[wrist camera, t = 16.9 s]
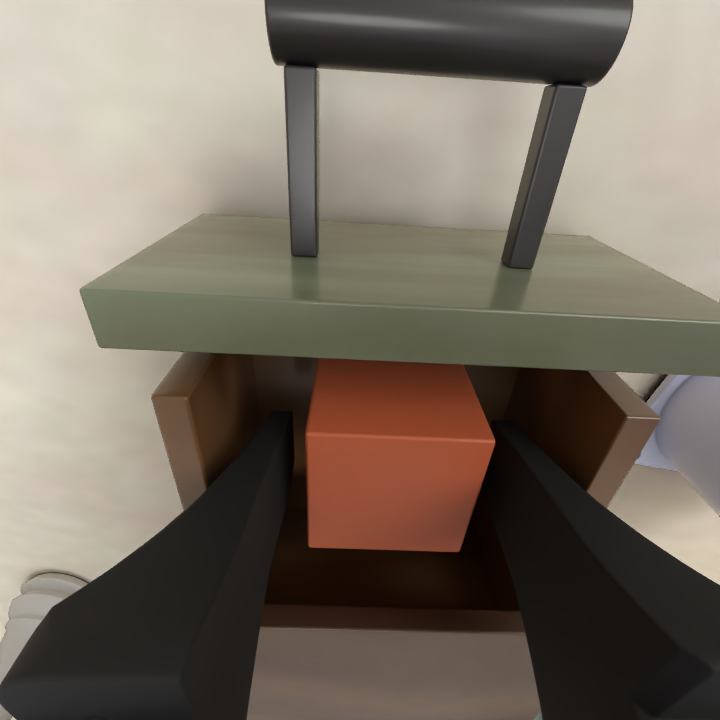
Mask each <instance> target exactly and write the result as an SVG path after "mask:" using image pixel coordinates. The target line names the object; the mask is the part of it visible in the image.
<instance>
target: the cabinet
mask: <svg viewBox="0 0 720 720" xmlns="http://www.w3.org/2000/svg"><path fill="white" fill-rule="evenodd" d="M540 711H541V707H540V702H539V697H538V692H537V686H536V681H535V676H534V671H533V666H532V661H531V656H530V652H529V647H528V643H527V638H526V634H525V629H524V625H523V620H522V616H521V612H520V611H516V610H479V609H442V608H406V607H369V606H333V605H296V604H264V607H263V613H262V619H261V625H260V632H259V638H258V644H257V651H256V658H255V664H254V671H253V678H252V685H251V691H250V698H249V706H248V713H247V720H534V719H535V717H536V716H537V715H538V714H539V713H540Z"/></svg>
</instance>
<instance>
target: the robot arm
mask: <svg viewBox="0 0 720 720" xmlns="http://www.w3.org/2000/svg"><path fill="white" fill-rule="evenodd" d="M646 404H647V405H648V406H649V407H650V408H651V409H652V410H653V411H654V412H655V413H656V414H657V415H658V416H659V417H660V418H661V420H660V422H659V423H658V425H657V426H656V428H655V430H654V431H653V433H652V435H651V436H650V438H649V440H648V441H647V443H646V444H645V446H644V448H643V449H642V451H641V453H640V454H639V456H638V458H637V459H636V461H635V462H634V464H639V465H644V466H650V467H655V468H661V469H666V470H672V471H677V472H680V474H681V475H682V476H683V477H684V478H685V479H686V480H687V481H688V482H689V483H690V485H691V486H692V487H693V488H694V489H695V490H696V491H697V492H698V493H699V495H700V496H701V497H702V498H703V499H704V500H705V501H706V502H707V503H708V505H709V506H710V507H711V508H712V509H713V510H714V511H715V512H716V513H717V514H718V516H719V517H720V377H714V376H693V375H672V374H668V375H667V377H666V378H665V379H664V381H663V382H662V383H661V384H660V386H659V387H658V388H657V389H656V391H655V392H654V393H653V394H652V396H651V397H650V398H649V399H648V401H647V402H646ZM490 429H491V431H492V434H493V436H494V438H495V446H494V449H493V452H492V455H491V458H490V461H489V464H488V467H487V470H486V473H485V476H484V479H483V482H482V490H483V494H484V498H485V501H486V504H487V507H488V510H489V513H490V516H491V519H492V522H493V525H494V528H495V531H496V533H497V536H498V539H499V542H500V545H501V548H502V550H503V553H504V556H505V559H506V562H507V565H508V568H509V571H510V574H511V577H512V581H513V584H514V588H515V592H516V596H517V600H518V604H519V608H520V612H521V616H522V620H523V625H524V629H525V634H526V638H527V643H528V647H529V652H530V656H531V661H532V666H533V671H534V676H535V681H536V686H537V692H538V697H539V702H540V707H541V713H542V719H543V720H720V585H718V584H717V583H715V582H713V581H712V580H710V579H708V578H707V577H705V576H703V575H702V574H700V573H698V572H697V571H695V570H694V569H692V568H690V567H689V566H687V565H686V564H684V563H683V562H681V561H679V560H678V559H676V558H675V557H673V556H672V555H670V554H669V553H667V552H666V551H664V550H663V549H661V548H660V547H658V546H657V545H655V544H654V543H652V542H651V541H650V540H648V539H647V538H645V537H644V536H642V535H641V534H640V533H638V532H637V531H635V530H634V529H633V528H631V527H630V526H629V525H627V524H626V523H625V522H623V521H622V520H621V519H620V518H618V517H617V516H616V515H614V514H613V513H612V512H610V511H609V510H608V509H607V508H605V507H604V506H603V505H602V504H600V503H599V502H598V501H597V500H596V499H594V498H593V497H592V496H591V495H590V494H589V493H587V492H586V491H585V490H584V489H583V488H582V487H580V486H579V485H578V484H577V483H576V482H575V481H574V480H573V479H571V478H570V477H569V476H568V475H567V474H566V473H565V472H564V471H563V470H562V469H561V468H560V467H558V466H557V465H556V464H555V463H554V462H553V461H552V460H551V459H550V458H549V457H548V456H547V455H546V454H545V453H544V452H543V451H542V450H541V449H540V448H539V447H538V446H537V445H536V444H535V443H534V442H533V441H532V440H531V439H530V438H529V437H528V436H527V435H526V434H525V433H524V432H523V431H522V430H521V429H520V428H519V427H518V426H517V425H515V424H514V423H513V422H512V421H501V420H492V422H491V425H490ZM294 461H295V455H294V433H293V412H292V411H274V410H272V411H271V412H270V413H269V414H268V416H267V417H266V419H265V420H264V421H263V423H262V424H261V426H260V427H259V429H258V430H257V431H256V433H255V434H254V435H253V437H252V438H251V439H250V441H249V442H248V443H247V444H246V446H245V447H244V448H243V449H242V451H241V452H240V453H239V454H238V455H237V457H236V458H235V459H234V460H233V461H232V463H231V464H230V465H229V466H228V467H227V468H226V469H225V470H224V471H223V473H222V474H221V475H220V476H219V477H218V478H217V479H216V480H215V481H214V482H213V483H212V485H211V486H210V487H209V488H208V489H207V490H206V491H205V492H204V493H203V494H202V495H201V496H200V497H199V498H197V499H196V500H195V501H194V502H193V503H192V504H191V505H190V506H189V507H188V508H187V509H186V510H185V511H183V512H182V513H181V514H180V515H179V516H178V517H177V518H175V519H174V520H173V521H172V522H171V523H170V524H168V525H167V526H166V527H165V528H164V529H163V530H161V531H160V532H159V533H158V534H156V535H155V536H154V537H153V538H151V539H150V540H149V541H148V542H146V543H145V544H144V545H142V546H141V547H140V548H138V549H137V550H136V551H134V552H133V553H131V554H130V555H129V556H127V557H126V558H125V559H123V560H122V561H121V562H119V563H118V564H117V565H115V566H114V567H113V568H111V569H110V570H108V571H107V572H105V573H104V574H102V575H101V576H99V577H98V578H96V579H95V580H93V581H92V582H90V583H89V584H87V585H86V586H84V587H82V588H81V589H79V590H78V591H76V592H75V593H73V594H72V595H70V596H69V597H67V598H66V599H64V600H62V601H61V602H59V603H58V604H56V605H54V606H53V607H52V608H51V609H50V610H49V612H48V613H47V615H46V616H45V617H44V619H43V620H42V621H41V623H40V624H39V625H38V626H37V628H36V629H35V631H34V632H33V634H32V635H31V637H30V638H29V640H28V641H27V643H26V644H25V646H24V647H23V649H22V651H21V652H20V654H19V655H18V657H17V659H16V660H15V662H14V663H13V665H12V666H11V668H10V670H9V671H8V673H7V674H6V676H5V677H4V679H3V681H2V682H1V684H0V704H1V705H2V707H3V708H4V709H5V710H6V711H7V712H8V713H10V714H11V715H12V716H13V717H14V718H15V719H17V720H247V713H248V706H249V698H250V691H251V685H252V678H253V671H254V664H255V658H256V651H257V644H258V638H259V632H260V625H261V619H262V613H263V607H264V601H265V595H266V589H267V583H268V577H269V572H270V567H271V563H272V558H273V555H274V551H275V547H276V543H277V539H278V536H279V532H280V528H281V524H282V520H283V516H284V513H285V509H286V505H287V501H288V497H289V493H290V489H291V482H292V475H293V468H294Z"/></svg>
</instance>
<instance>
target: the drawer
mask: <svg viewBox="0 0 720 720" xmlns="http://www.w3.org/2000/svg"><path fill="white" fill-rule="evenodd" d="M632 11H633V0H265V15H266V26H267V34H268V41H269V46H270V51H271V55H272V58H273V61H274V63H275V64H276V65H279V66H284V87H285V113H286V139H287V165H288V190H289V216H290V219H282V218H265V217H247V216H230V215H213V214H202V215H200V216H198V217H197V218H195V219H193V220H192V221H190V222H188V223H187V224H185V225H184V226H182V227H180V228H179V229H177V230H175V231H174V232H172V233H170V234H169V235H167V236H165V237H164V238H162V239H161V240H159V241H157V242H156V243H154V244H152V245H151V246H149V247H147V248H146V249H144V250H143V251H141V252H139V253H138V254H136V255H134V256H133V257H131V258H129V259H128V260H126V261H124V262H123V263H121V264H120V265H118V266H116V267H115V268H113V269H111V270H110V271H108V272H106V273H105V274H103V275H102V276H100V277H98V278H97V279H95V280H93V281H92V282H90V283H88V284H87V285H85V286H83V287H82V288H80V294H81V297H82V300H83V303H84V306H85V309H86V311H87V314H88V317H89V320H90V323H91V326H92V329H93V331H94V334H95V337H96V340H97V343H98V346H99V347H101V348H117V349H139V350H160V351H181V352H184V353H183V354H182V356H181V357H180V358H179V360H178V361H177V362H176V364H175V365H174V366H173V368H172V369H171V370H170V372H169V373H168V374H167V376H166V377H165V378H164V380H163V381H162V382H161V384H160V385H159V386H158V388H157V389H156V390H155V392H154V393H153V394H152V397H151V399H152V402H153V406H154V409H155V413H156V416H157V420H158V423H159V427H160V430H161V434H162V437H163V440H164V444H165V447H166V451H167V454H168V458H169V461H170V465H171V468H172V472H173V475H174V478H175V482H176V485H177V489H178V492H179V496H180V499H181V503H182V506H183V510H184V511H185V510H186V509H187V508H188V507H189V506H190V505H191V504H192V503H193V502H194V501H195V500H196V499H197V498H199V497H200V496H201V495H202V494H203V493H204V492H205V491H206V490H207V489H208V488H209V487H210V486H211V485H212V483H213V482H214V481H215V480H216V479H217V478H218V477H219V476H220V475H221V474H222V473H223V471H224V470H225V469H226V468H227V467H228V466H229V465H230V464H231V463H232V461H233V460H234V459H235V458H236V457H237V455H238V454H239V453H240V452H241V451H242V449H243V448H244V447H245V446H246V444H247V443H248V442H249V441H250V439H251V438H252V437H253V435H254V434H255V433H256V431H257V430H258V429H259V427H260V426H261V424H262V423H263V421H264V420H265V419H266V417H267V416H268V414H269V413H270V412H271V411H272V410H274V411H292V412H293V433H294V455H295V461H294V468H293V475H292V482H291V489H290V493H289V497H288V501H287V505H286V509H285V513H284V516H283V520H282V524H281V528H280V532H279V536H278V539H277V543H276V547H275V551H274V555H273V558H272V563H271V567H270V572H269V577H268V583H267V589H266V595H265V601H264V604H296V605H333V606H369V607H406V608H442V609H479V610H516V611H520V608H519V604H518V600H517V596H516V592H515V588H514V584H513V581H512V577H511V574H510V571H509V568H508V565H507V562H506V559H505V556H504V553H503V550H502V548H501V545H500V542H499V539H498V536H497V533H496V531H495V528H494V525H493V522H492V519H491V516H490V513H489V510H488V507H487V504H486V501H485V498H484V494H483V490H482V485H481V488H480V491H479V494H478V497H477V500H476V503H475V506H474V510H473V513H472V516H471V519H470V522H469V525H468V528H467V531H466V534H465V537H464V540H463V543H462V546H461V549H460V551H459V552H437V551H406V550H374V549H343V548H311V547H309V546H308V532H307V493H306V455H305V431H306V425H307V419H308V413H309V408H310V402H311V396H312V390H313V384H314V379H315V373H316V367H317V361H318V358H330V359H352V360H373V361H394V362H416V363H437V364H458V365H464V367H465V370H466V372H467V374H468V377H469V379H470V381H471V384H472V386H473V389H474V391H475V393H476V396H477V398H478V400H479V403H480V405H481V408H482V410H483V412H484V415H485V417H486V419H487V422H488V424H489V427H490V425H491V422H492V420H501V421H512V422H513V423H514V424H515V425H517V426H518V427H519V428H520V429H521V430H522V431H523V432H524V433H525V434H526V435H527V436H528V437H529V438H530V439H531V440H532V441H533V442H534V443H535V444H536V445H537V446H538V447H539V448H540V449H541V450H542V451H543V452H544V453H545V454H546V455H547V456H548V457H549V458H550V459H551V460H552V461H553V462H554V463H555V464H556V465H557V466H558V467H560V468H561V469H562V470H563V471H564V472H565V473H566V474H567V475H568V476H569V477H570V478H571V479H573V480H574V481H575V482H576V483H577V484H578V485H579V486H580V487H582V488H583V489H584V490H585V491H586V492H587V493H589V494H590V495H591V496H592V497H593V498H594V499H596V500H597V501H598V502H599V503H600V504H602V505H603V506H604V507H605V508H607V507H608V505H609V503H610V502H611V500H612V498H613V497H614V495H615V494H616V492H617V490H618V489H619V487H620V485H621V484H622V482H623V480H624V479H625V477H626V476H627V474H628V472H629V471H630V469H631V467H632V466H633V464H634V462H635V461H636V459H637V458H638V456H639V454H640V453H641V451H642V449H643V448H644V446H645V444H646V443H647V441H648V440H649V438H650V436H651V435H652V433H653V431H654V430H655V428H656V426H657V425H658V423H659V422H660V420H661V418H660V417H659V416H658V415H657V414H656V413H655V412H654V411H653V410H652V409H651V408H650V407H649V406H648V405H647V404H646V403H645V402H644V401H643V400H642V399H641V398H640V397H639V396H638V395H637V394H636V393H635V392H634V391H633V390H632V389H631V388H630V387H629V386H628V385H627V384H626V383H625V382H624V381H623V380H622V379H621V378H620V377H619V376H618V375H617V374H616V373H615V372H629V373H650V374H672V375H693V376H714V377H720V303H718V302H716V301H714V300H712V299H710V298H708V297H707V296H705V295H703V294H701V293H699V292H697V291H695V290H693V289H691V288H689V287H687V286H685V285H683V284H681V283H679V282H677V281H675V280H673V279H671V278H670V277H668V276H666V275H664V274H662V273H660V272H658V271H656V270H654V269H652V268H650V267H648V266H646V265H644V264H642V263H640V262H638V261H636V260H634V259H633V258H631V257H629V256H627V255H625V254H623V253H621V252H619V251H617V250H615V249H613V248H611V247H609V246H607V245H605V244H603V243H601V242H599V241H597V240H596V239H594V238H592V237H590V236H576V235H559V234H543V233H544V229H545V226H546V223H547V219H548V216H549V213H550V209H551V206H552V203H553V199H554V196H555V193H556V189H557V186H558V183H559V179H560V176H561V173H562V169H563V166H564V163H565V159H566V156H567V153H568V149H569V146H570V143H571V139H572V136H573V133H574V129H575V126H576V123H577V119H578V116H579V113H580V110H581V106H582V103H583V100H584V96H585V93H586V90H587V87H591V86H594V85H595V84H597V83H598V82H600V81H601V80H602V79H603V78H604V76H605V75H606V74H607V73H608V71H609V70H610V68H611V67H612V65H613V64H614V62H615V60H616V58H617V57H618V55H619V53H620V50H621V48H622V46H623V44H624V41H625V38H626V36H627V33H628V29H629V26H630V22H631V17H632ZM317 68H322V69H336V70H351V71H365V72H379V73H394V74H408V75H422V76H437V77H451V78H465V79H480V80H494V81H508V82H523V83H537V84H551V85H548V86H546V87H545V88H544V92H543V96H542V100H541V104H540V107H539V111H538V115H537V119H536V123H535V127H534V131H533V135H532V139H531V143H530V147H529V151H528V155H527V159H526V163H525V167H524V171H523V175H522V179H521V183H520V187H519V190H518V194H517V198H516V202H515V206H514V210H513V214H512V218H511V222H510V226H509V230H508V232H507V231H490V230H472V229H455V228H438V227H420V226H403V225H386V224H369V223H351V222H334V221H319V71H318V70H317Z"/></svg>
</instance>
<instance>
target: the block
mask: <svg viewBox="0 0 720 720" xmlns="http://www.w3.org/2000/svg"><path fill="white" fill-rule="evenodd" d="M494 446H495V438H494V436H493V434H492V431H491V429H490V427H489V424H488V422H487V419H486V417H485V415H484V412H483V410H482V408H481V405H480V403H479V400H478V398H477V396H476V393H475V391H474V389H473V386H472V384H471V381H470V379H469V377H468V374H467V372H466V370H465V367H464V365H458V364H437V363H416V362H394V361H373V360H352V359H330V358H318V361H317V367H316V373H315V379H314V384H313V390H312V396H311V402H310V408H309V413H308V419H307V425H306V431H305V455H306V493H307V532H308V546H309V547H311V548H343V549H374V550H406V551H437V552H459V551H460V549H461V546H462V543H463V540H464V537H465V534H466V531H467V528H468V525H469V522H470V519H471V516H472V513H473V510H474V506H475V503H476V500H477V497H478V494H479V491H480V488H481V485H482V482H483V479H484V476H485V473H486V470H487V467H488V464H489V461H490V458H491V455H492V452H493V449H494Z"/></svg>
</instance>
